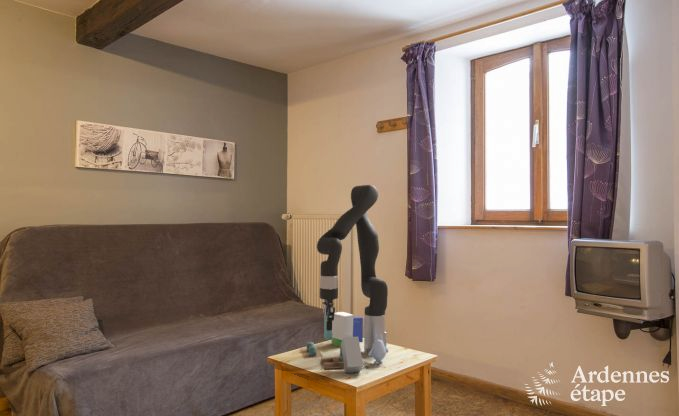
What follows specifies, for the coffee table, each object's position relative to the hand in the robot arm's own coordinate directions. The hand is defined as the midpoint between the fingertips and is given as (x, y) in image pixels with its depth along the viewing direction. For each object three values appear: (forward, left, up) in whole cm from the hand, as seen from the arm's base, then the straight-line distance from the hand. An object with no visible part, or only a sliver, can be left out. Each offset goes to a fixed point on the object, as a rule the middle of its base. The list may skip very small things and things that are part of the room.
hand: (328, 329), depth 191 cm
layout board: (+4, -16, -15) cm, 22 cm away
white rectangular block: (-8, +5, -11) cm, 14 cm away
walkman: (-20, -35, -15) cm, 43 cm away
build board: (-3, 0, -15) cm, 16 cm away
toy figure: (-21, 0, -15) cm, 26 cm away
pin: (0, 0, -4) cm, 4 cm away
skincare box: (-12, -27, -16) cm, 33 cm away
